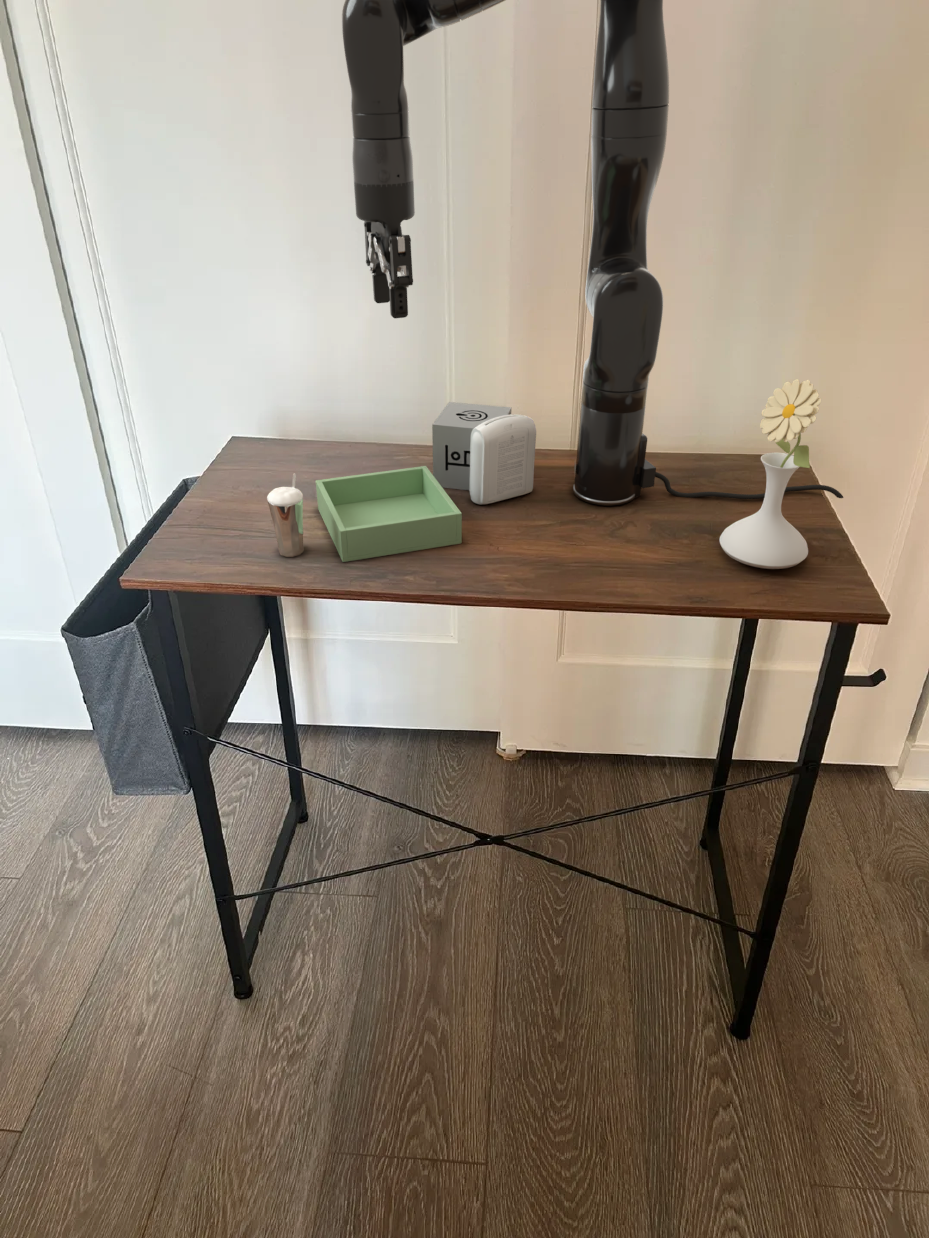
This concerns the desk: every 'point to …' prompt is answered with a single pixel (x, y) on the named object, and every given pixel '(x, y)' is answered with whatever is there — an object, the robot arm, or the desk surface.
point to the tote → (388, 513)
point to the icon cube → (458, 441)
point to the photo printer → (502, 458)
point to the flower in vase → (776, 483)
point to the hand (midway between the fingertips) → (390, 309)
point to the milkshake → (287, 518)
